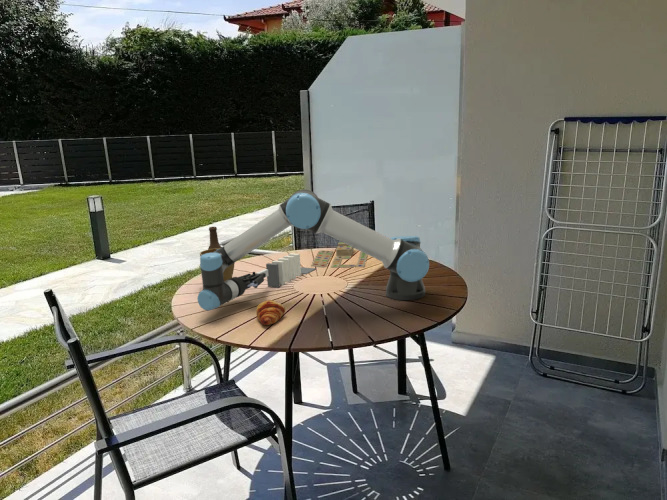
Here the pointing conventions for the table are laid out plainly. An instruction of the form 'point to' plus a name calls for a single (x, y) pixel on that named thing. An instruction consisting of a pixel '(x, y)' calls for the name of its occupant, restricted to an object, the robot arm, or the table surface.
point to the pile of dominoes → (338, 257)
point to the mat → (306, 270)
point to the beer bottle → (213, 238)
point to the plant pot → (228, 271)
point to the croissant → (269, 312)
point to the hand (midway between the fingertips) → (266, 272)
